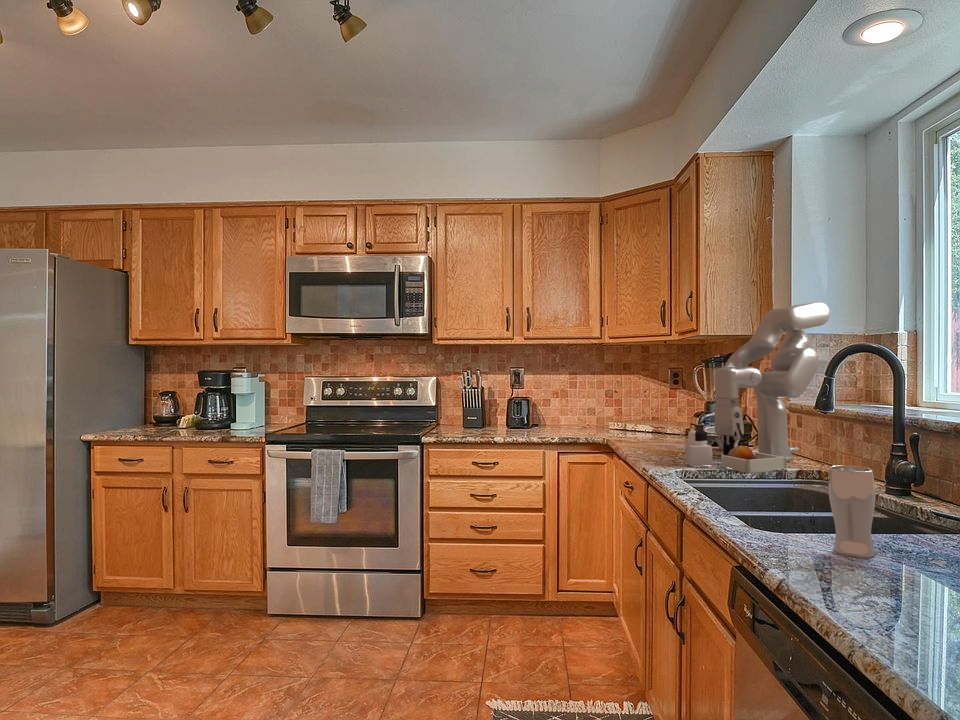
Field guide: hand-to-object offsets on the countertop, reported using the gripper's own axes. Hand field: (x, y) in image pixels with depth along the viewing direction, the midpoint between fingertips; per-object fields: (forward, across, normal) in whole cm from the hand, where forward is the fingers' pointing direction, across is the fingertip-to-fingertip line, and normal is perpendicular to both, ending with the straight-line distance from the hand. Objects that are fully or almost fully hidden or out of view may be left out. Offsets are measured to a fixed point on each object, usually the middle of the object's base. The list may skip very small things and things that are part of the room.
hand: (728, 455), depth 195 cm
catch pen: (+3, -11, 0) cm, 12 cm away
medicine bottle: (+3, 0, +12) cm, 12 cm away
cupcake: (+3, +26, -20) cm, 33 cm away
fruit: (+3, -6, 0) cm, 7 cm away
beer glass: (+3, -87, +42) cm, 97 cm away
